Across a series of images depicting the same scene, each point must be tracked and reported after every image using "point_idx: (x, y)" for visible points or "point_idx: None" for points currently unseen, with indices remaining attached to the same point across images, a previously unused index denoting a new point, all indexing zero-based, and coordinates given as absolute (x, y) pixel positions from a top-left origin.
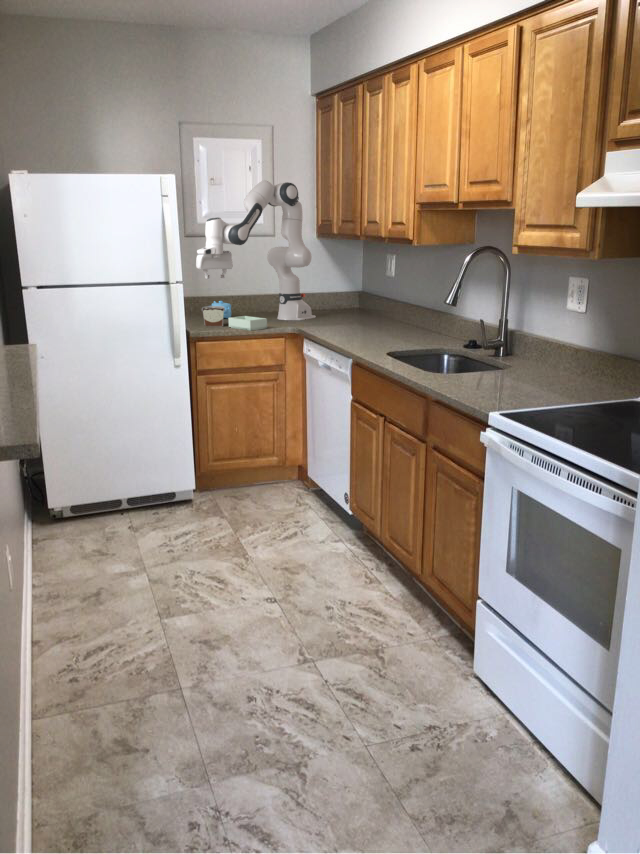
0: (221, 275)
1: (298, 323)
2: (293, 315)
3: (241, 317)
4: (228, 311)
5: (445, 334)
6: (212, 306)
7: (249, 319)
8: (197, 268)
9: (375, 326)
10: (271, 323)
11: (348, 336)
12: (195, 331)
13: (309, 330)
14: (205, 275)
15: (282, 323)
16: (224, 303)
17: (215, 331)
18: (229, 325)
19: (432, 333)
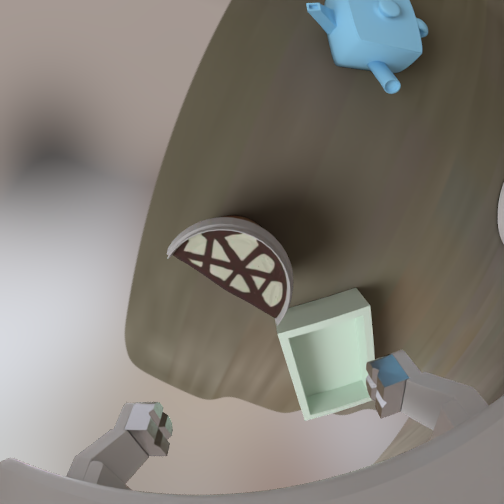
0: (380, 394)
1: (481, 313)
2: None
3: (343, 319)
4: (394, 66)
5: None
6: (243, 233)
7: (361, 333)
8: (9, 468)
9: (500, 396)
10: (445, 278)
11: None
12: (134, 337)
13: (408, 423)
14: (120, 431)
15: (462, 294)
16: (402, 22)
17: (195, 368)
18: None
19: None
